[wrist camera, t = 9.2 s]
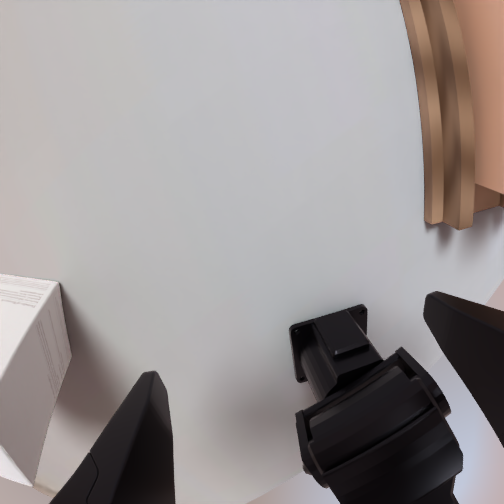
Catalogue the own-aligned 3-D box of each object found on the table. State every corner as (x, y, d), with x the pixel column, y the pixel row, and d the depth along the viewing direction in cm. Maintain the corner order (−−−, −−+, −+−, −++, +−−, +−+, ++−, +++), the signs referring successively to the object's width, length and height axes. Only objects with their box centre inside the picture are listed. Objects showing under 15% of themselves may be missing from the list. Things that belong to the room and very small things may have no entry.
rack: (507, 198, 24) (528, 207, 21) (424, 220, 23) (448, 234, 20) (482, -18, 14) (503, -22, 11) (383, -50, 13) (405, -64, 10)
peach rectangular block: (491, 176, 21) (543, 196, 16) (463, 179, 21) (519, 201, 15) (475, -1, 14) (526, -9, 9) (443, -13, 14) (497, -28, 8)
